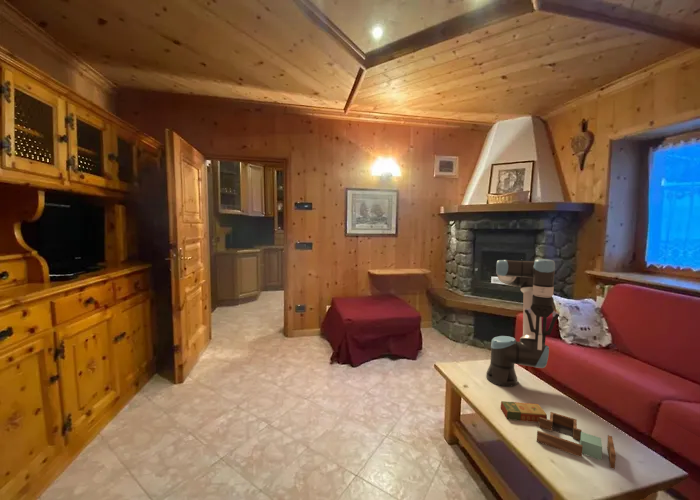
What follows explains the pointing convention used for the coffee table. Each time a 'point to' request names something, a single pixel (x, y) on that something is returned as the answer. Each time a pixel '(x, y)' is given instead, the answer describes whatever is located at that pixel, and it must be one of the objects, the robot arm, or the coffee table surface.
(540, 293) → the robot arm
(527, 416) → the carton
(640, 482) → the coffee table surface
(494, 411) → the coffee table surface
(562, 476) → the coffee table surface
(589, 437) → the block
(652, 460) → the coffee table surface
